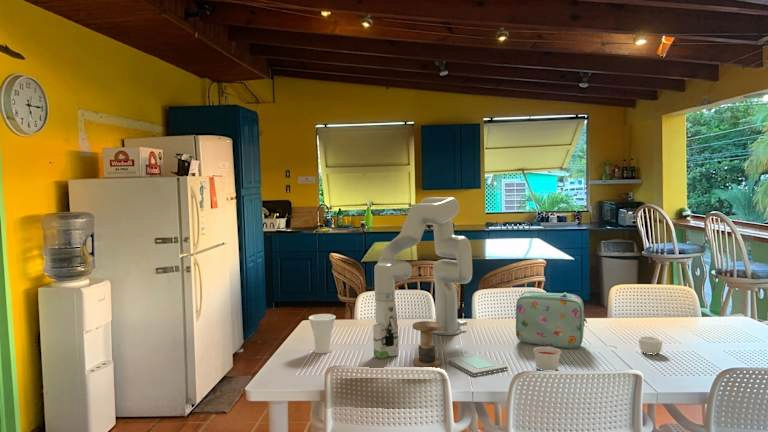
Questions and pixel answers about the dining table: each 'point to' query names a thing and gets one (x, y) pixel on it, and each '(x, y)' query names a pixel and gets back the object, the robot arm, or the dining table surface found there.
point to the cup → (322, 331)
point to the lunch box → (550, 319)
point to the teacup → (650, 344)
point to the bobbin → (426, 344)
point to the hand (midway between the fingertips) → (386, 343)
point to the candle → (547, 358)
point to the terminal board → (477, 364)
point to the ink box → (379, 342)
